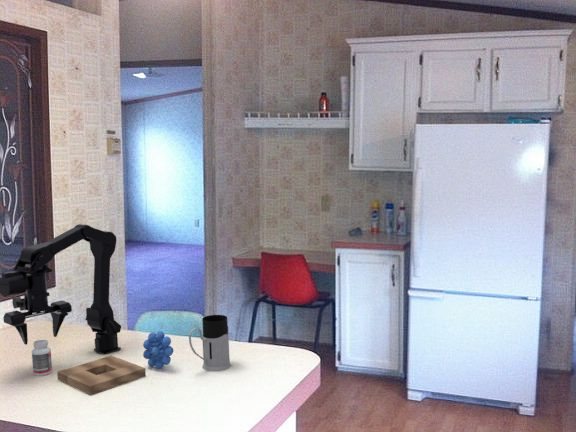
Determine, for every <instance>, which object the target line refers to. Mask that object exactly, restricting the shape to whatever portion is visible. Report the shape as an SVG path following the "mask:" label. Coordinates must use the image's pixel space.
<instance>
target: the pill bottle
mask: <svg viewBox="0 0 576 432" xmlns="http://www.w3.org/2000/svg"><path fill="white" fill-rule="evenodd" d="M31 360H32V373H33V375H34V376H38V377H42V376H46V375H47V376H48V375H49V374H51V373H53V365H52V363H53V361H52V352H51V347H49V341H48V340H47V339H37V340H35V341H34V342H33V348H32V350H31Z"/></svg>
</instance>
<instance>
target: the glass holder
mask: <svg viewBox="0 0 576 432" xmlns="http://www.w3.org/2000/svg"><path fill="white" fill-rule="evenodd" d="M201 321H202V324H201V325H202V329H200V328H199V327H194V328H192V329H191V330H190V331H189V334H188V342H189V347H190V349H191V351H192V352H193V354H194V355H196V356H197V358H200V359H201V360H202V361H203V364H202V365H201V366H202V367H201V368H202V369H203V370H204V371H207V372H222V371H225V370H226V371H227V370H229V369H230V368H231V367H232V364H231V358H230V341H229V339H230V338H229V337H230V336H229V334H230V333H229V325H228V316H227V315H224V314H210V315H207V316H206V315H205V316H204V317H202V318H201ZM195 330H197V331H198V332H199V338H200V340H201V341H202V353H203V354H202V356H201V355H199V353H197V352H196V350H195V348H194V346H193V344H192V343H193V342H192V334H193V332H194V331H195Z"/></svg>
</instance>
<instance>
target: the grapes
mask: <svg viewBox="0 0 576 432" xmlns="http://www.w3.org/2000/svg"><path fill="white" fill-rule="evenodd" d="M171 342H172V340H171V338H170V336H167V335H165V333H164V331H162V330H159V331H157V332H154V331H152V332H150V333H149V334H148V336H147V339H146V340H145V339H144V341H143V344H142V345H143V348H144V349H145V350H144V351H143V354H142V355H143V358H144V359H145V360H147V366H149V367H150V368H155V369H157V370H162V369H163V368H164V367H165V366H168V365H170V363H171V359H172V358H171V356H172V355H173V353H174V347H172V346H171Z"/></svg>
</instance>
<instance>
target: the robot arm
mask: <svg viewBox="0 0 576 432" xmlns="http://www.w3.org/2000/svg"><path fill="white" fill-rule="evenodd" d="M82 240H83V241H86V242H88V243H89V250H90V251H91V254H92V256H93V259H94V263H93V264H94V265H93V266H94V267H93V295H92V296H93V301H92V304H91V305H90V307H86V309H85V313H86V314H85V315H86V317H85V318H84V319H85V321H86V323H87V326H88V327H89V328H90V329H91V331H92V332H93V333H95V337H94V349H93V351H95V352H97V353H99V354H102V355H106V354H110V353H113V352H117V351H120V350H122V348H121V347H120V346H119V340H118V339H119V338H118V334H119V333H120V332H121V330H122V325H121V324H120V323H118V322H117V321H116V320H115V316H114V310H113V308H112V306H111V304H110V284H111V283H110V275H111V259H112V256H113V255H114V252H115V251H116V247H117V236H116V234H114V233H113V232H112V231H106V230H100V229H98V228H95V227H92V226H90V225H88V224H83V223H82V224H80V223H79V224H76V225H75V226H73V227H72V228H71V229H69V230H67V231H65V232H63V233H61V234H59V235H57V236H55V237H53V238H52V239H50V240H48V241H46V242H42V243H37V244H32V245H29V246H26V247H24V248H23V249H22V250H21V251H20V256H19V258H18V260H17V262H16V264H15V266H14V268H12V271H7V272H1V277H0V295H1V296H2V297H4V298H7V297H11V296H15V295H19V294H24V295H23V298H22V297H21V296H15V297H12V307H13V309H14V310H13V311H8V312H5V313H4V314H3V323H5V324H7V325H10V326H12V327H15V329H16V330H17V332H18V334H19V336H20V338H21V340H22V342H23V344H24V345H25V346H27V345H28V340H29V339H28V324H27V323H26V322H25V321H26V320H27V319H30V318H33V317H38V316H42V315H43V316H44V315H47V314H50V315H51V319H52V332H53V333H52V334H53V337H54V338H57V336H58V334H59V331H60V330H61V326H62V324H63V322H64V320H65V318H66V316H68V315H69V313H72V311H73V307H72V304H71V303H70V302H69V301H65V300H58V301H57V300H56V301H53V302H51V304H50V305H49V301H48V300H49V299H48V297H50V292H49V291H48V288H47V286H48V285H47V274H48V273H52V272H53V269H52V268H51V267H49V266H48V263H50V262H51V261H52V260H53V259H54V257H55V255H57V254H59V253H60V252H62V251H64V250H66V249H68V248H70V247H72V246H73V245H75V244H77V243H79V242H80V241H82ZM15 309H19V310H15Z"/></svg>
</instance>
